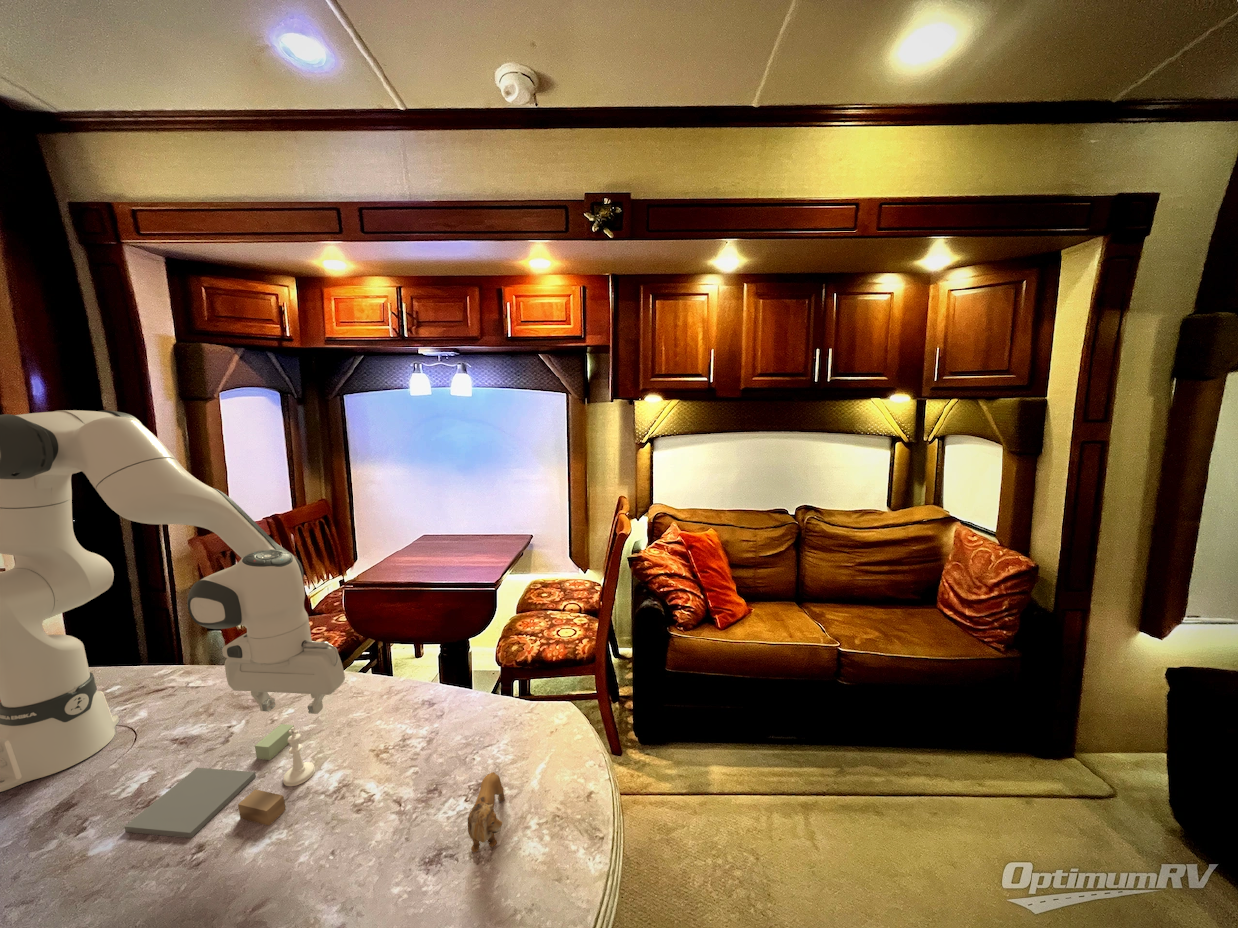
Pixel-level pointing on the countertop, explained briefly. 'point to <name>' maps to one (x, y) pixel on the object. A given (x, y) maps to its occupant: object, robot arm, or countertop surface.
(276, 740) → the sage brick
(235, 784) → the slate tile
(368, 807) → the countertop surface
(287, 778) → the chess piece
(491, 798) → the lion figurine
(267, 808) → the walnut brick
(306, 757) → the countertop surface
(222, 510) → the robot arm
